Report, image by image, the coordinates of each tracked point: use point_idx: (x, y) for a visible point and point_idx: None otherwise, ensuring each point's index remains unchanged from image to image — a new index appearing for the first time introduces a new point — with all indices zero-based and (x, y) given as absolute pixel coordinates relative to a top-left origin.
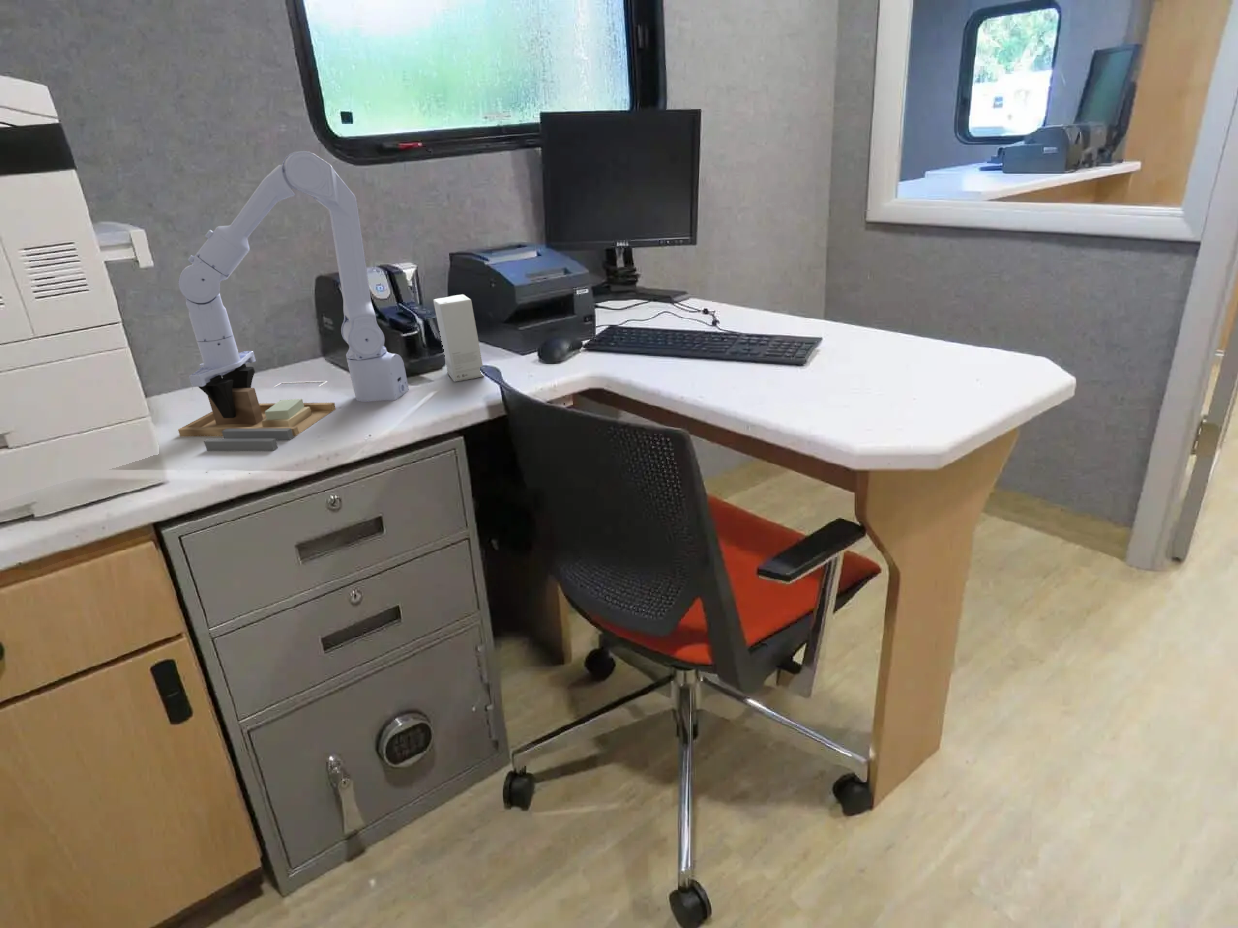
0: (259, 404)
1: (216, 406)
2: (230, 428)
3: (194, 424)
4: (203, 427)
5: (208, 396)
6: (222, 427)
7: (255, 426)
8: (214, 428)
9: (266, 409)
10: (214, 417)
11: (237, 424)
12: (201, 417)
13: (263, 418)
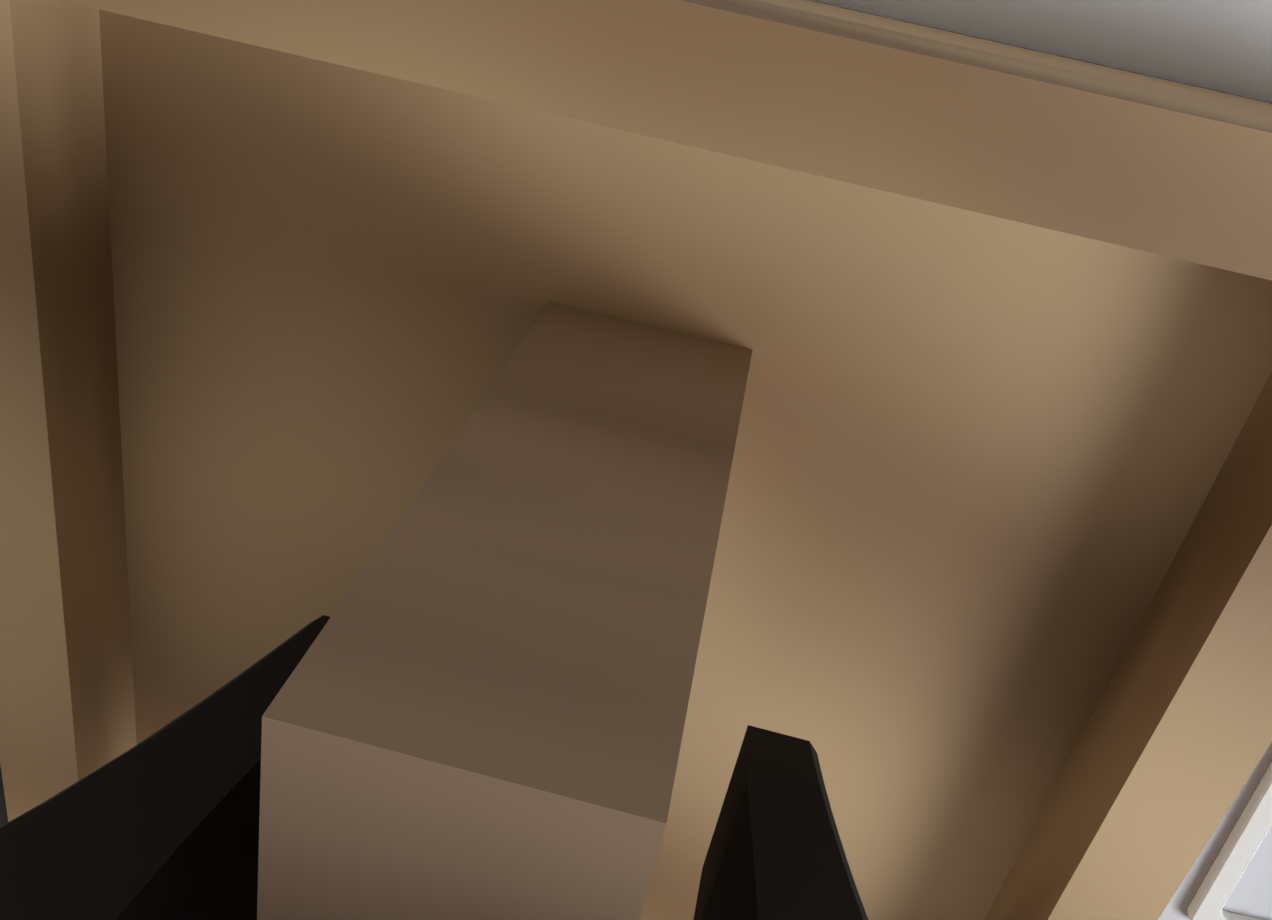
0: (1113, 884)
1: (153, 738)
2: (34, 764)
3: (235, 34)
4: (33, 356)
5: (326, 639)
6: (61, 653)
7: None
8: (11, 556)
9: (1013, 901)
10: (515, 356)
11: None
12: (615, 5)
13: (675, 891)
